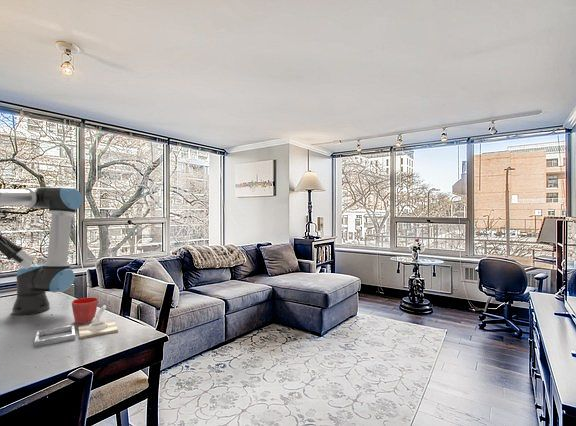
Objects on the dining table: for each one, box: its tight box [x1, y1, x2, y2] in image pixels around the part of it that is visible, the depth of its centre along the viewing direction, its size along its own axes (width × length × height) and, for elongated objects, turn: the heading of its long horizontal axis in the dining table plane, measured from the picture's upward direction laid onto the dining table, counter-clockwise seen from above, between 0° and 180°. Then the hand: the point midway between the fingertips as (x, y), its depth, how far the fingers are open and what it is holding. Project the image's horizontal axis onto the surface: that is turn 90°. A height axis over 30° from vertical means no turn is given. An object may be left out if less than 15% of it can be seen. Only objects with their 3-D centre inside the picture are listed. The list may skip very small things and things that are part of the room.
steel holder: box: [33, 324, 76, 347], centre depth 131 cm, size 13×13×2 cm
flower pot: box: [71, 297, 99, 324], centre depth 152 cm, size 11×11×10 cm
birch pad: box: [77, 320, 119, 340], centre depth 140 cm, size 14×14×1 cm
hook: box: [88, 304, 108, 331], centre depth 140 cm, size 8×12×7 cm
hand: (31, 264), depth 134 cm, fingers open, 13 cm apart
